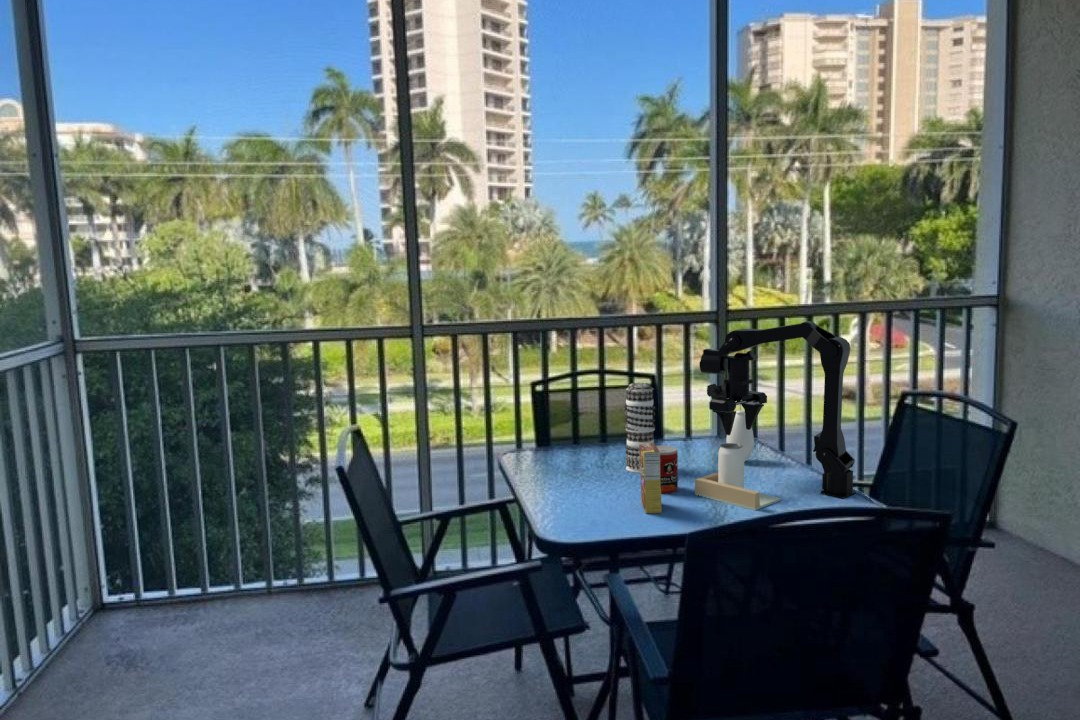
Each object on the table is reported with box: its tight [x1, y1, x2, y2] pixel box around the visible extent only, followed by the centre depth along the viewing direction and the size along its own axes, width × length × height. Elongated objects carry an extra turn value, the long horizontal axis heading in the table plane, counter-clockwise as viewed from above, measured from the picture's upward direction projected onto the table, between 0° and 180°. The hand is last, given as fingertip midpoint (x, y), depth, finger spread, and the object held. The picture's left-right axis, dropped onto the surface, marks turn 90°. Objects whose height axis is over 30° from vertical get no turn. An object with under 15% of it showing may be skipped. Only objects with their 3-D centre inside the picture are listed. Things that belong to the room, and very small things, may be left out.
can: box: [717, 442, 745, 488], centre depth 202 cm, size 6×6×12 cm
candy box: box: [639, 442, 662, 514], centre depth 192 cm, size 9×4×15 cm, turn 0°
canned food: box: [656, 444, 679, 494], centre depth 207 cm, size 8×8×11 cm
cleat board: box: [694, 471, 782, 511], centre depth 199 cm, size 18×11×4 cm, turn 41°
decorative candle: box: [623, 382, 657, 474], centre depth 227 cm, size 9×9×25 cm
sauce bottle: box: [726, 404, 755, 462], centre depth 232 cm, size 8×8×18 cm
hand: (738, 432), depth 214 cm, fingers open, 9 cm apart
